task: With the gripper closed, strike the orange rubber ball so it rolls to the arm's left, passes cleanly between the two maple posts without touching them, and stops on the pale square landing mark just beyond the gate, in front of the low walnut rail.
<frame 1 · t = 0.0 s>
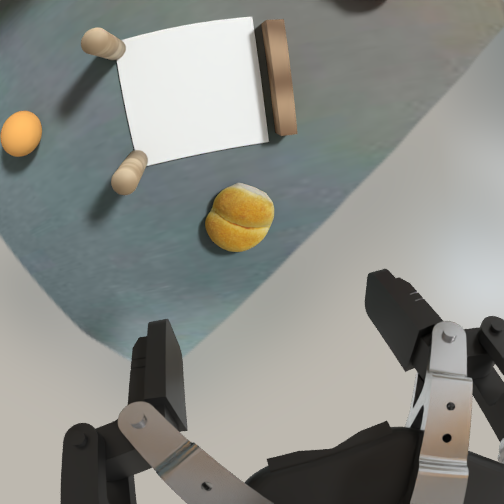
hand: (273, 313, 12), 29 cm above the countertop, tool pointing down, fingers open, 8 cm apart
stopper rail: (276, 76, 34), on the countertop
landing mark: (192, 88, 33), on the countertop
ball: (21, 133, 28), on the countertop
post 1: (115, 49, 28), on the countertop
post 2: (137, 160, 36), on the countertop
bread roll: (238, 213, 42), on the countertop
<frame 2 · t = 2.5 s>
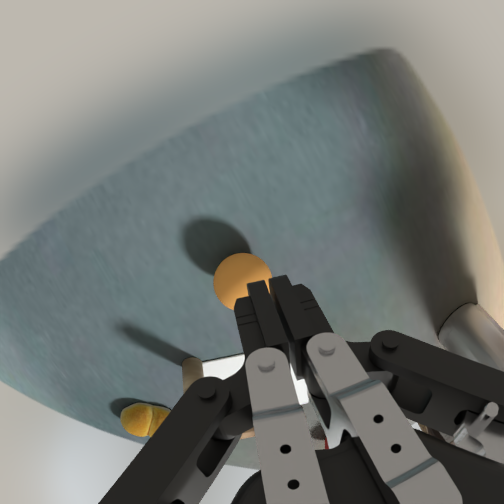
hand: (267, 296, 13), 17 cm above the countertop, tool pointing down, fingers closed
landing mark: (254, 387, 43), on the countertop
ball: (242, 282, 30), on the countertop
post 2: (192, 364, 38), on the countertop
coffee box: (417, 387, 57), on the countertop
bread roll: (150, 413, 44), on the countertop
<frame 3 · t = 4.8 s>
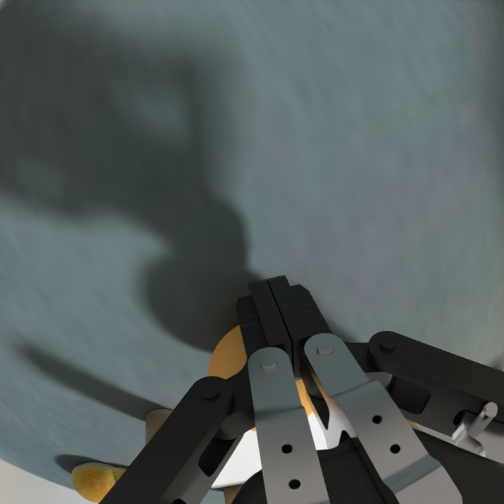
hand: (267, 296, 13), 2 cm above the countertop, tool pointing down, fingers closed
landing mark: (277, 445, 24), on the countertop
ball: (267, 375, 14), on the countertop
post 2: (164, 418, 19), on the countertop
bread roll: (117, 473, 25), on the countertop
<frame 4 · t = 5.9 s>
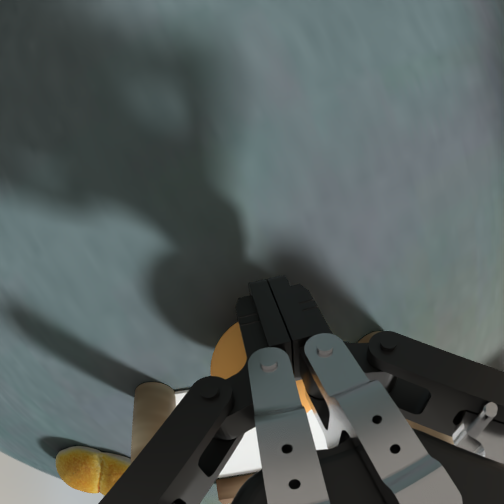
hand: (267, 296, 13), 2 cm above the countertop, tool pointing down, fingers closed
stopper rail: (283, 470, 28), on the countertop
landing mark: (275, 431, 23), on the countertop
ball: (269, 370, 14), on the countertop, touching gripper
post 1: (370, 345, 19), on the countertop
post 2: (155, 394, 18), on the countertop
bread roll: (104, 460, 23), on the countertop
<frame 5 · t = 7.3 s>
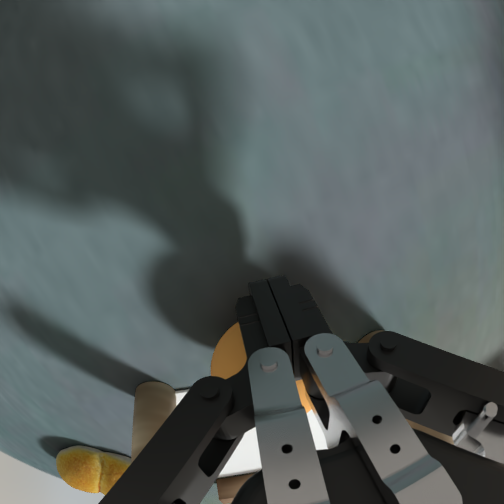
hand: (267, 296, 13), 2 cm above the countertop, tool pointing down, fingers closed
stopper rail: (283, 470, 28), on the countertop
landing mark: (276, 431, 23), on the countertop
ball: (269, 370, 14), on the countertop, touching gripper
post 1: (371, 345, 19), on the countertop
post 2: (155, 393, 18), on the countertop
bread roll: (104, 460, 23), on the countertop
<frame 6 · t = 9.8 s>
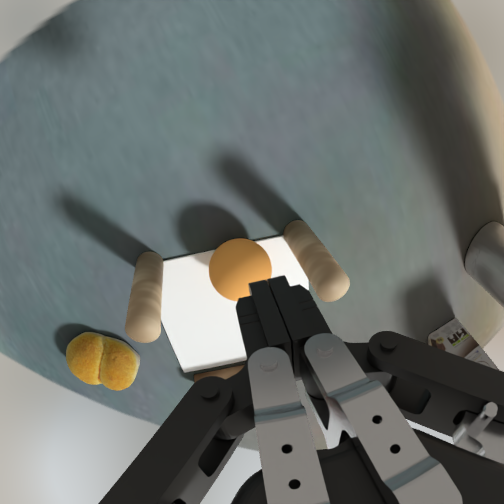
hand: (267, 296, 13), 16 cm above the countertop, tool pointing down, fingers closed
stopper rail: (248, 368, 39), on the countertop
landing mark: (236, 311, 34), on the countertop
ball: (240, 270, 28), on the countertop
post 1: (296, 232, 31), on the countertop
post 2: (150, 263, 29), on the countertop
coffee box: (439, 340, 47), on the countertop
bread roll: (105, 353, 34), on the countertop
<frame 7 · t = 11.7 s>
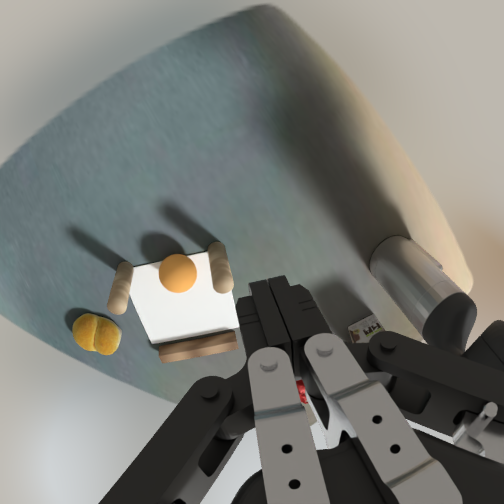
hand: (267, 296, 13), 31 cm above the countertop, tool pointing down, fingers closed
stopper rail: (197, 342, 56), on the countertop
landing mark: (183, 301, 51), on the countertop
pomegranate: (287, 371, 65), on the countertop
ball: (177, 273, 45), on the countertop
post 1: (216, 249, 47), on the countertop
post 2: (125, 268, 46), on the countertop
coffee box: (363, 332, 64), on the countertop
bread roll: (99, 328, 51), on the countertop
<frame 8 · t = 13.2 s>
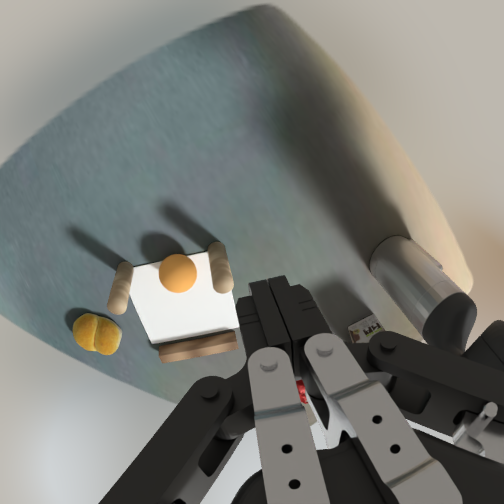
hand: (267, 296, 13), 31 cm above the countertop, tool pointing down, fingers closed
stopper rail: (197, 342, 56), on the countertop
landing mark: (183, 301, 51), on the countertop
pomegranate: (287, 371, 65), on the countertop
ball: (177, 273, 45), on the countertop
post 1: (216, 249, 47), on the countertop
post 2: (125, 268, 46), on the countertop
coffee box: (363, 332, 64), on the countertop
bread roll: (99, 328, 51), on the countertop
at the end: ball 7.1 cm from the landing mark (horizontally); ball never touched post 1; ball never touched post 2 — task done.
